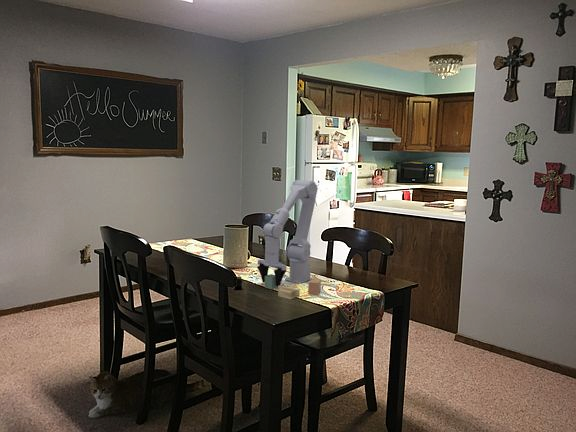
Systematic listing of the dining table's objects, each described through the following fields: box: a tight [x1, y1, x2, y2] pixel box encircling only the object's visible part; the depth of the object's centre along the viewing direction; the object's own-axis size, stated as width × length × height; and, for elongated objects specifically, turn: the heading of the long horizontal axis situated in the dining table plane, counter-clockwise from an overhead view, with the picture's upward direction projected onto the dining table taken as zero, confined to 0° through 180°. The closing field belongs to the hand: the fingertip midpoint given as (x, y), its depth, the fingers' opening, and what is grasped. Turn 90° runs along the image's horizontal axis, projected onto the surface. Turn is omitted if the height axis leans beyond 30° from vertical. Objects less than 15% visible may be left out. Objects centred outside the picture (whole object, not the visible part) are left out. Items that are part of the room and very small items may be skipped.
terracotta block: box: [307, 279, 322, 296], centre depth 206 cm, size 4×4×5 cm
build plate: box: [231, 276, 246, 291], centre depth 212 cm, size 12×7×5 cm, turn 10°
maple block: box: [277, 285, 301, 300], centre depth 202 cm, size 6×6×3 cm
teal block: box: [264, 273, 279, 290], centre depth 213 cm, size 4×4×5 cm
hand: (271, 283), depth 213 cm, fingers open, 7 cm apart
